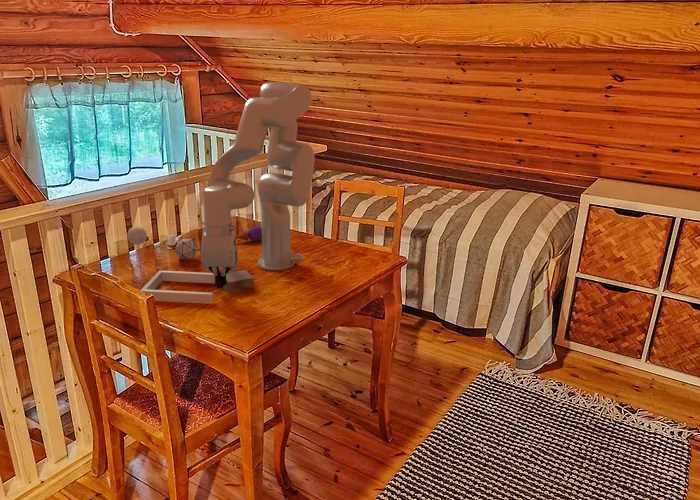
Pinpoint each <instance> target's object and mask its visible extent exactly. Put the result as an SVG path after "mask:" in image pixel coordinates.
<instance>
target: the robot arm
mask: <svg viewBox="0 0 700 500" xmlns="http://www.w3.org/2000/svg"><path fill="white" fill-rule="evenodd" d="M312 99H313V97H312V92H311V90H310V89H309V87H307V86H306V85H305V84H301V83H289V82H282V81H269V82H265V83H264V84H262V86H261V87H260V90H259V96H258V97H251V98H249V99H248V100H247V101H246V102H245V104H244V107H243V110H242V114H241V117H240V120H239V123H238V127H237V132H236V134H235V138H234V140H233V143H232V145H231V146H230V147H229V148H228V149H226V150H225V152H224V153H222V155H221V156H220V157H219V158H218V159H217V160H216V162H215V163H214V165H213V167H212V170H211V173H210V176H209V179H208V183H207V187H205V188H204V189H203V191H202V201H203V202H202V203H203V223H204V231H203V233H202V238H201V246H200V252H201V253H200V257H201V258H200V260H201V268H202V269H205V270H208V271H210V273H213V275H214V276H215V283H214V284H215V285H216V288H217V289H224V285H226V274H227V273H230V272H231V271H232V272H233V271H238V268H239V265H238V260H239V251H238V243H237V239H236V237H235V236H236V234H235V232H236V231H237V226H236V225H233V223H232V215H231V212H232V210H240V209H246V208H247V207H249V206H250V205H251V204H252V203H253V201H254V200H255V191H254V188H253V187H252V186H250V185H249V184H247V183H245V182H241V181H234V180H231V179H230V180H229V178H230V174H231V172H233V170H234V169H235V168H236V167H237V166H238V165H240V164H241V163H243V162H245V161H247V160H250V159H253V158H255V157H257V156H259V155H261V153H262V152H263V148H264V145H265V144H264V143H265V140H266V137H267V134H268V131H269V128H270V131H269V132H270V133H269V139H268V146H267V151H266V152H267V154H266V161H267V163H268V165H269V166H270V167H271V168H273V169H277V170H282V171H288V172H292V174H291V175H289V174H284V173H278V172H267V173H265V174H262V176H260V178H259V179H258V182H257V186H256V188H257V194H258V199H259V203H260V213H261V214H260V215H261V221H260V223H261V228H262V240H261V251H262V252H261V253H262V256H261V257H259V259H258V260H257V265H258V266H259V268H261V269H264V270H267V271H283V270H288V269H291V268H293V267H294V266H295V264H296V262H303V261H304V256H303V255H301V253H294V252H293V249H291V213H290V210H289V207H288V206H291V207H295V208H296V207H297V208H299V207H302V206H304V205H305V204H306V203H307V202H308V200H309V198H310V194H311V188H312V181H313V175H314V168H315V162H316V161H315V160H316V159H315V158H316V157H315V152H314V150H313V148H312V147H311V145H310V144H308V143H305V142H300V141H297V136H298V122H297V120H298V119H299V118H300V117H301V116H302V115H303V114H305V113H306V112H307V110H308V109H309V108H310V106H311V105H312ZM234 231H235V232H234ZM303 263H304V262H303ZM220 268H221V271H220Z"/></svg>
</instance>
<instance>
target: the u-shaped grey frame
mask: <svg viewBox="0 0 700 500" xmlns="http://www.w3.org/2000/svg"><path fill="white" fill-rule="evenodd" d="M162 282H177V283H181V282H182V283H195V284H196V283H197V284H198V283H199V284H215V276H214V275H213V273H212V272H196V271H181V270H180V271H178V270H158V272H157V271H156V273H155V274H154V275H153V276H152V278H150V279H149V281H148V282H146V283H145V285H144V286H142V288H140V290H141V291H143V292H146V293H149V294H152V295H153V296H154V298H155V301H154V302H169V303H187V304H189V303H191V304H206V305H207V304H208V305H213V304H214V301H215V300H214V292H207V291H205V292H204V291H187V290H186V291H184V290H183V291H182V290H164V289H157V288H158V287H159V286H160V285H161V283H162Z"/></svg>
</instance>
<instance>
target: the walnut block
mask: <svg viewBox="0 0 700 500" xmlns="http://www.w3.org/2000/svg"><path fill="white" fill-rule="evenodd" d="M254 287H255V285H254V276H252V275H251V274H250V273H249V272H248V270H246V269H242V270H235V271H232V272H231V271H229V272H228V273H227V274H226V285H224V287H223V289H224V290H225V291H226V292H227V293H228V294H234V293H238V292H243V291H244V292H245V291H249V290H253V289H254Z"/></svg>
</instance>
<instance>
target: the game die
mask: <svg viewBox="0 0 700 500" xmlns="http://www.w3.org/2000/svg"><path fill="white" fill-rule="evenodd" d="M195 239H196V237H194V238H192V239H191V238H190V239H189V238H183V237H182V236H180V240H178V241H179V243H176V244H177V245H176V244H175V248H174V247H172V248H173V249H172V250H175V253H176V254H177V256H178V258H179V259H178V261H181V260H189V261H191V262H194V257H195V256H196V255H197V253H198V252H199V251H200V252H201V248H199V247H198V246H197V243H196V241H195Z"/></svg>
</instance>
